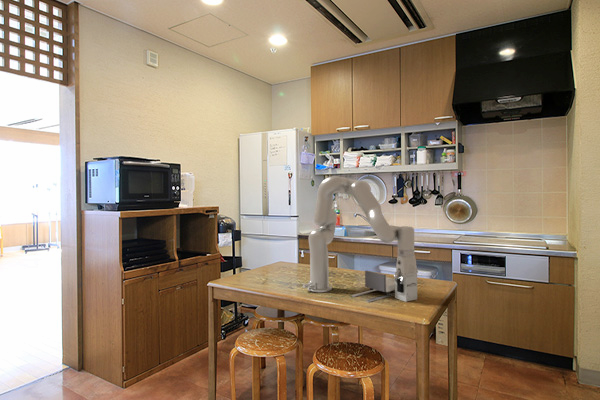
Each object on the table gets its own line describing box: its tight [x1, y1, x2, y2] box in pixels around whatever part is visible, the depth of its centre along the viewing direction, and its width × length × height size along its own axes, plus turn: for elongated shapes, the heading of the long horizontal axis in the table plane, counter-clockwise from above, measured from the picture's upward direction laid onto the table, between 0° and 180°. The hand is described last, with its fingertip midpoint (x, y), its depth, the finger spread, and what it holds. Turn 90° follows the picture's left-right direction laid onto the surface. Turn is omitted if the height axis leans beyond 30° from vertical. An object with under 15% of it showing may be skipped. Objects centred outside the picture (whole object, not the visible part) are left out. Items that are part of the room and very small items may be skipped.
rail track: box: [350, 289, 395, 303], centre depth 174 cm, size 28×14×4 cm, turn 127°
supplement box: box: [394, 271, 418, 303], centre depth 165 cm, size 7×7×13 cm
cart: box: [364, 270, 395, 295], centre depth 176 cm, size 15×14×10 cm
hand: (406, 290), depth 165 cm, fingers closed on supplement box, 7 cm apart
